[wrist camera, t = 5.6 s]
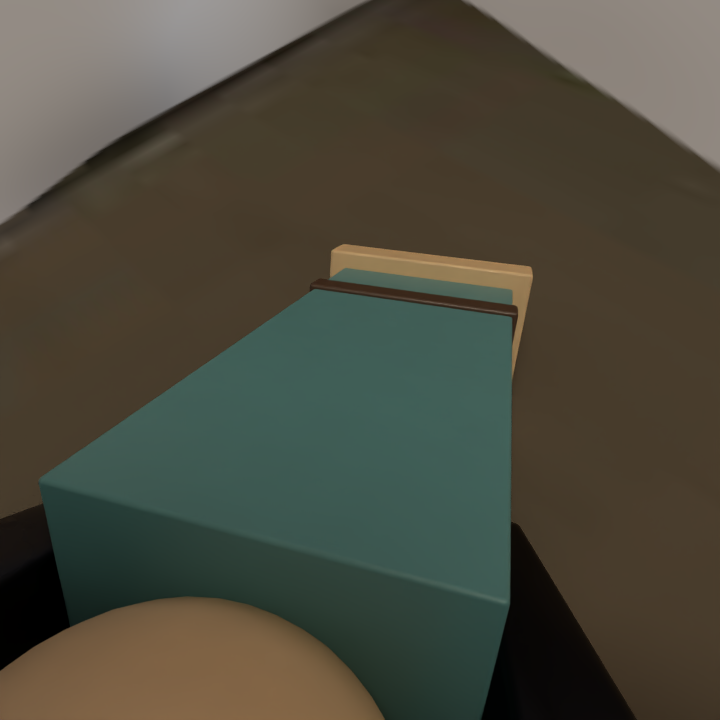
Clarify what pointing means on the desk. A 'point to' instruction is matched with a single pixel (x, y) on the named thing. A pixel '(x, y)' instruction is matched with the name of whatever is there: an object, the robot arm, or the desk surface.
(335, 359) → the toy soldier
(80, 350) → the desk surface
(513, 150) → the desk surface
